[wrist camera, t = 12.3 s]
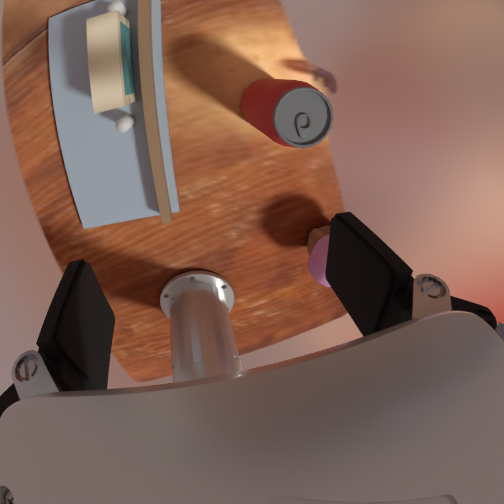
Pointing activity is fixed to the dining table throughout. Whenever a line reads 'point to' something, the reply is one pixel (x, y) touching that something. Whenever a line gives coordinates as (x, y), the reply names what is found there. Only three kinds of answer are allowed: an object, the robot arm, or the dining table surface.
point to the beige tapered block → (110, 61)
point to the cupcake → (318, 253)
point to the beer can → (288, 111)
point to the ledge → (113, 120)
